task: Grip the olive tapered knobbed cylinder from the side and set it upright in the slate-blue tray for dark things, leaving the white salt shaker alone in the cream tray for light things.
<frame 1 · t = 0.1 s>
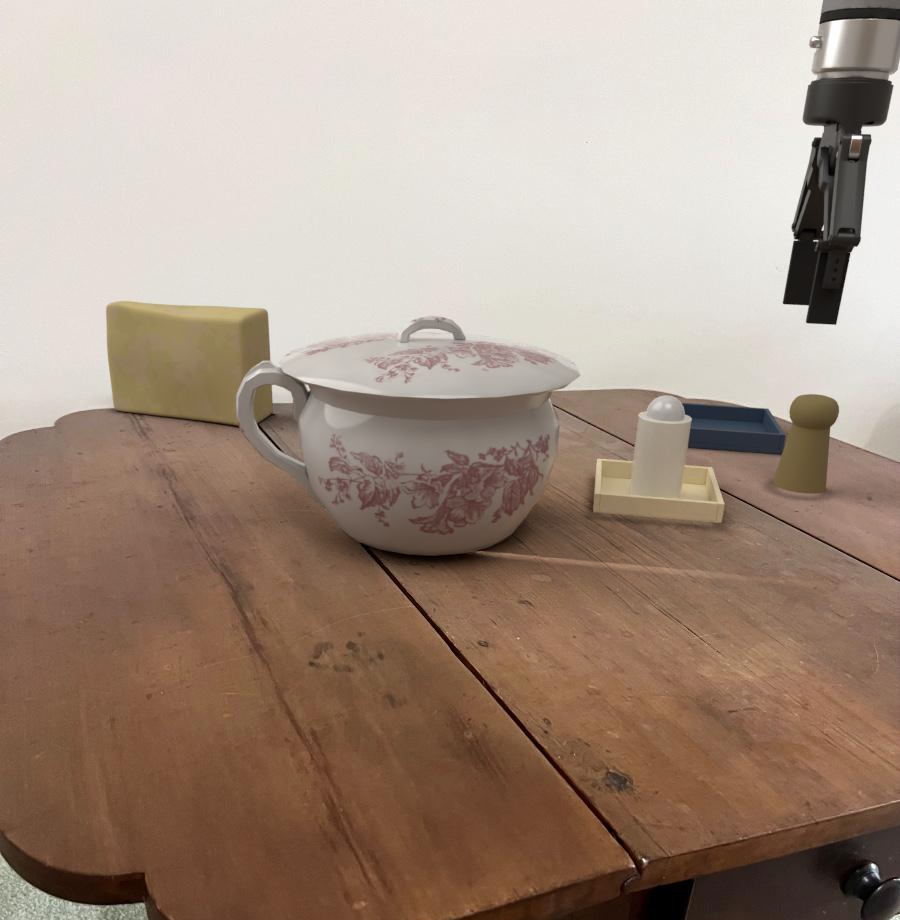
hand: (807, 313, 95), 20 cm above the table, tool pointing down, fingers open, 13 cm apart
olive tapered knobbed cylinder: (797, 491, 108), on the table
chamber pot: (424, 532, 91), on the table
salt shaker: (654, 497, 101), point 1 cm above the table, touching light tray
cheese: (189, 417, 129), on the table
dark tray: (717, 435, 129), on the table
light tray: (653, 502, 102), on the table
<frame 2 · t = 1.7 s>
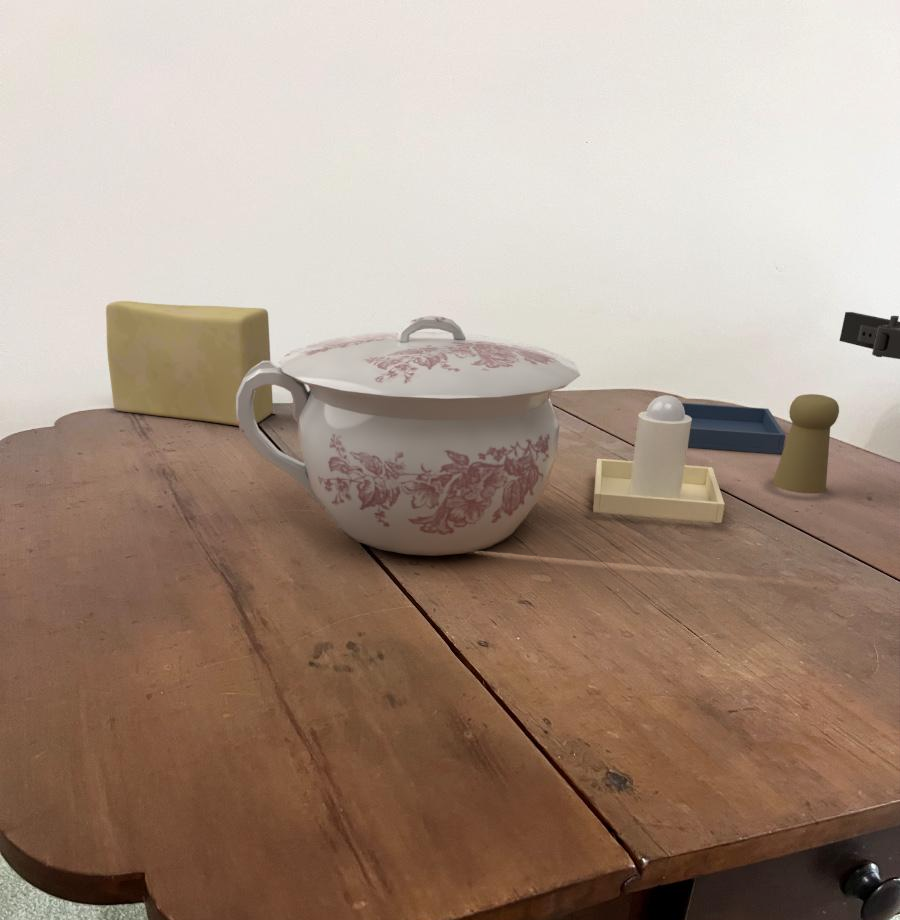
nothing on the table moved.
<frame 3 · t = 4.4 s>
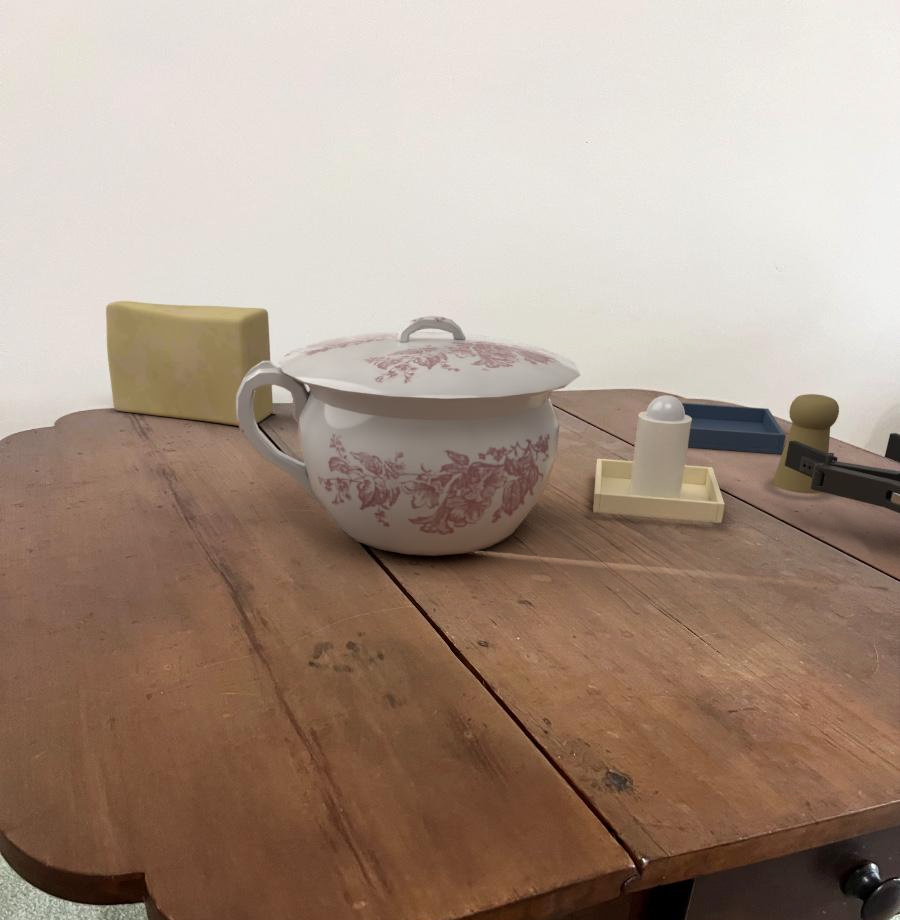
hand: (840, 448, 100), 6 cm above the table, tool horizontal, fingers open, 13 cm apart
nothing on the table moved.
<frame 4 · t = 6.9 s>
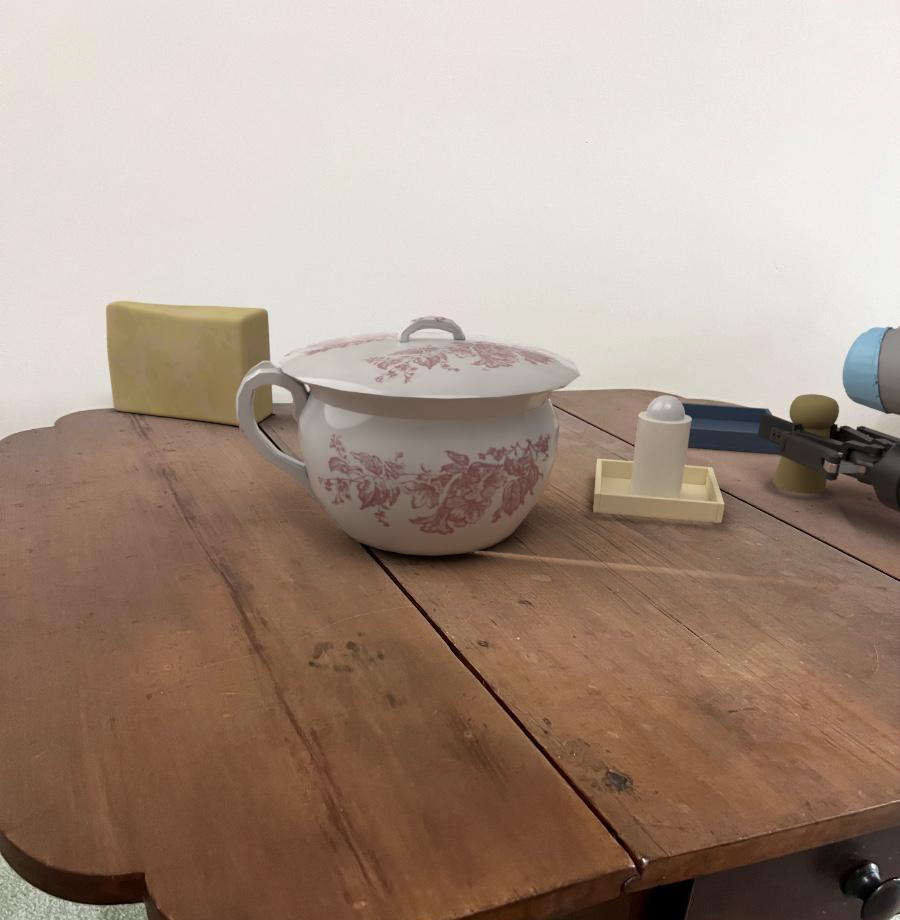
hand: (779, 423, 109), 6 cm above the table, tool horizontal, fingers closed on olive tapered knobbed cylinder, 4 cm apart
olive tapered knobbed cylinder: (797, 491, 108), on the table, touching gripper
everything else where it was.
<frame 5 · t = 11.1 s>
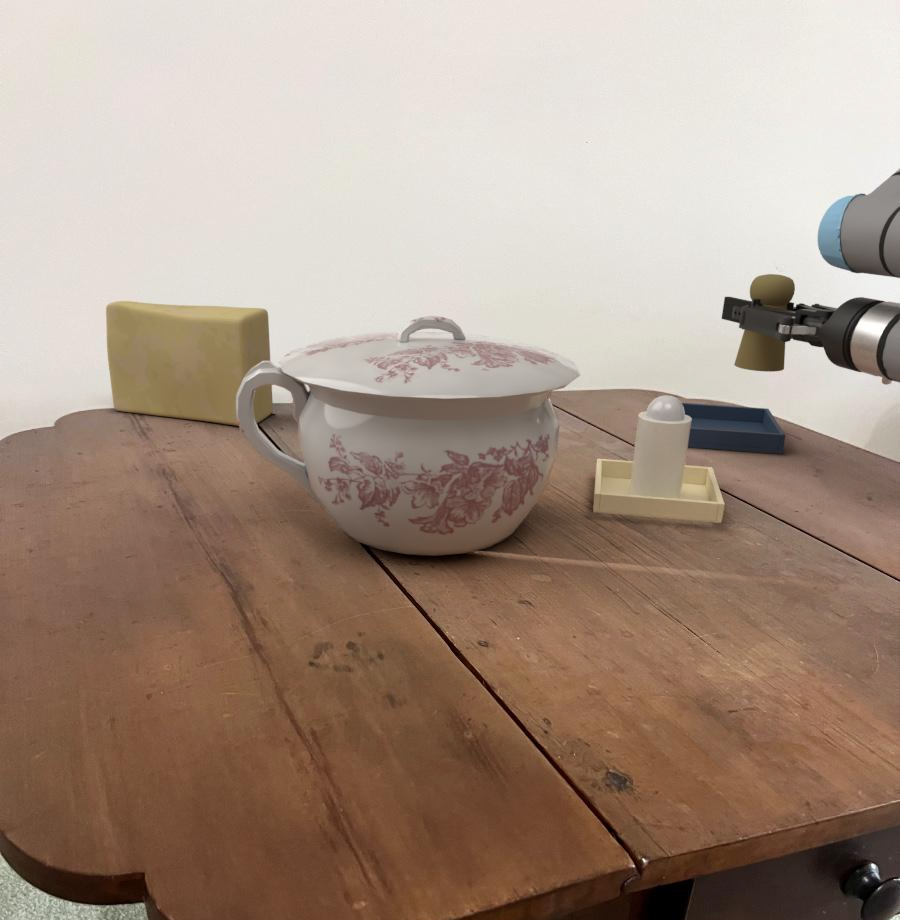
hand: (741, 307, 118), 18 cm above the table, tool horizontal, fingers closed on olive tapered knobbed cylinder, 4 cm apart
olive tapered knobbed cylinder: (758, 368, 116), point 11 cm above the table, touching gripper
everything else where it was.
when the fingers open (7 cm above the table, at t = 15.5 s): olive tapered knobbed cylinder stays where it is, resting on dark tray.
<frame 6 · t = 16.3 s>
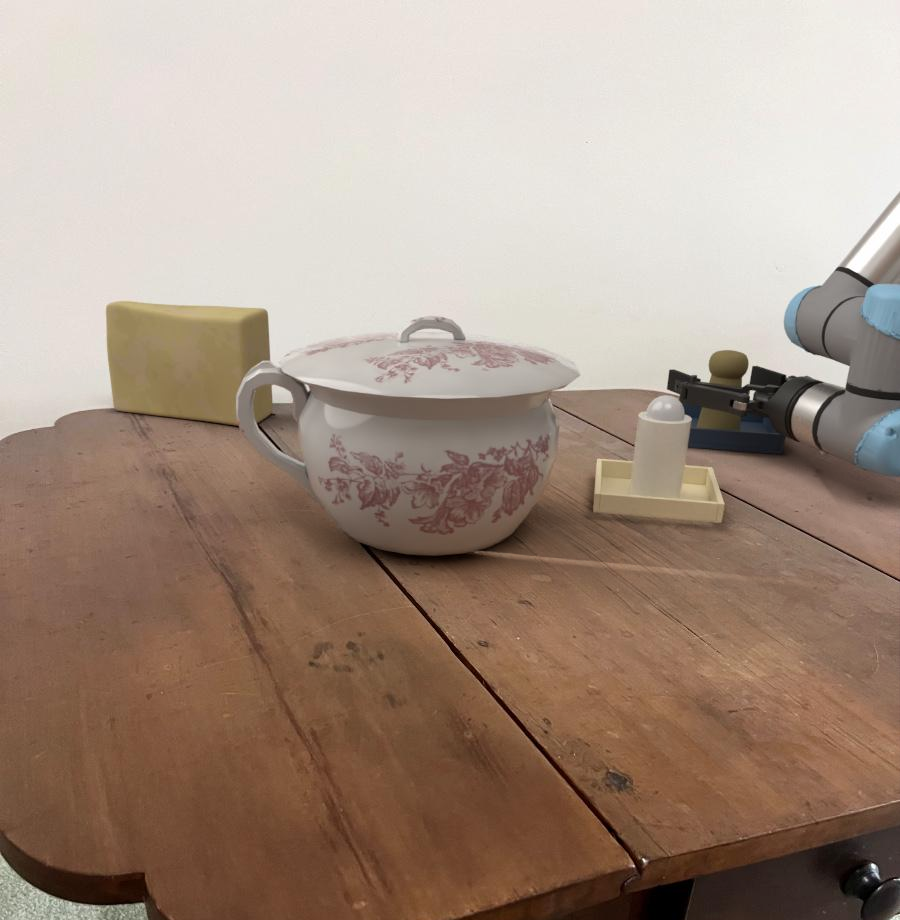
hand: (712, 377, 129), 7 cm above the table, tool horizontal, fingers open, 13 cm apart
olive tapered knobbed cylinder: (717, 432, 129), resting on dark tray
everything else where it was.
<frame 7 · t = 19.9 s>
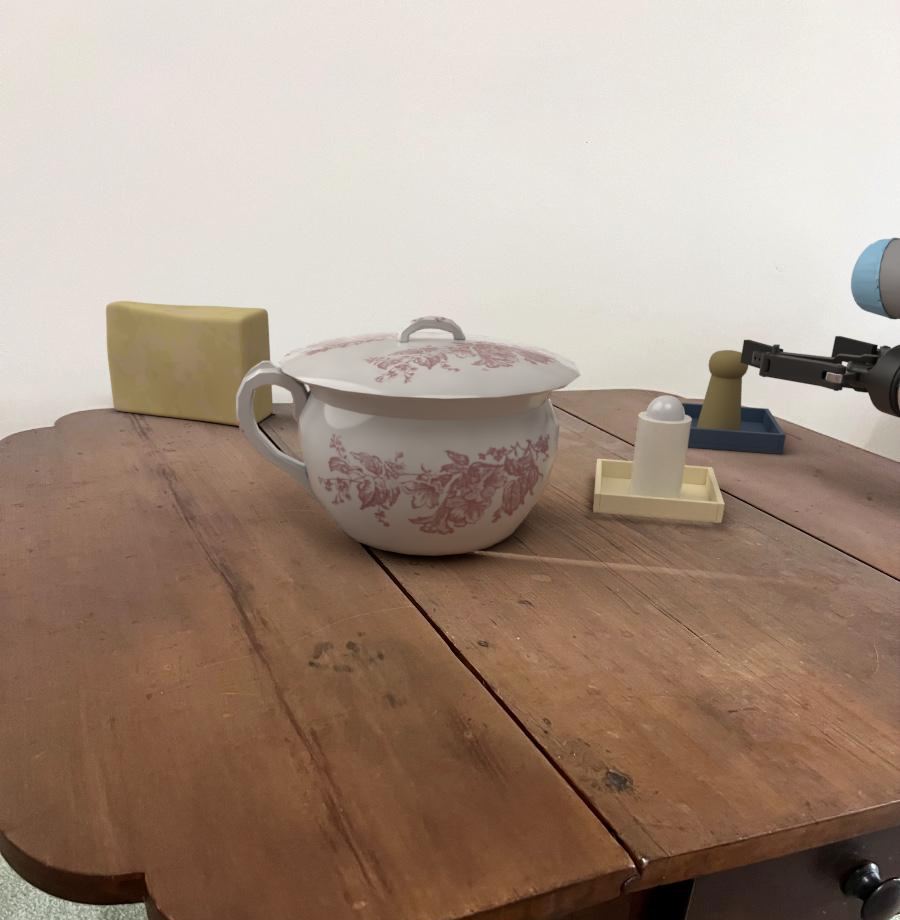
hand: (790, 348, 114), 14 cm above the table, tool horizontal, fingers open, 13 cm apart
nothing on the table moved.
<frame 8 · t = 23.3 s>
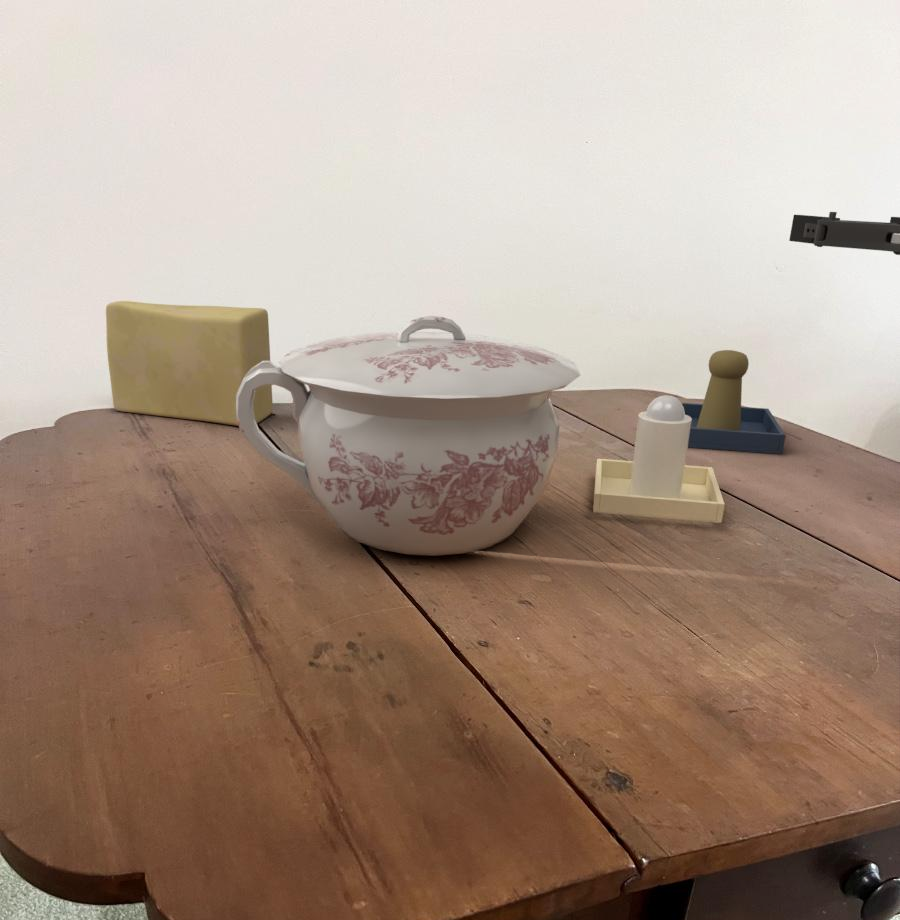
hand: (843, 228, 104), 28 cm above the table, tool horizontal, fingers open, 13 cm apart
nothing on the table moved.
at the end: olive tapered knobbed cylinder inside the target area in the dark tray (0.0 cm from its centre), point 0.4 cm above the dark tray's base; olive tapered knobbed cylinder tilted 0°; salt shaker moved 0.0 cm from its start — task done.
